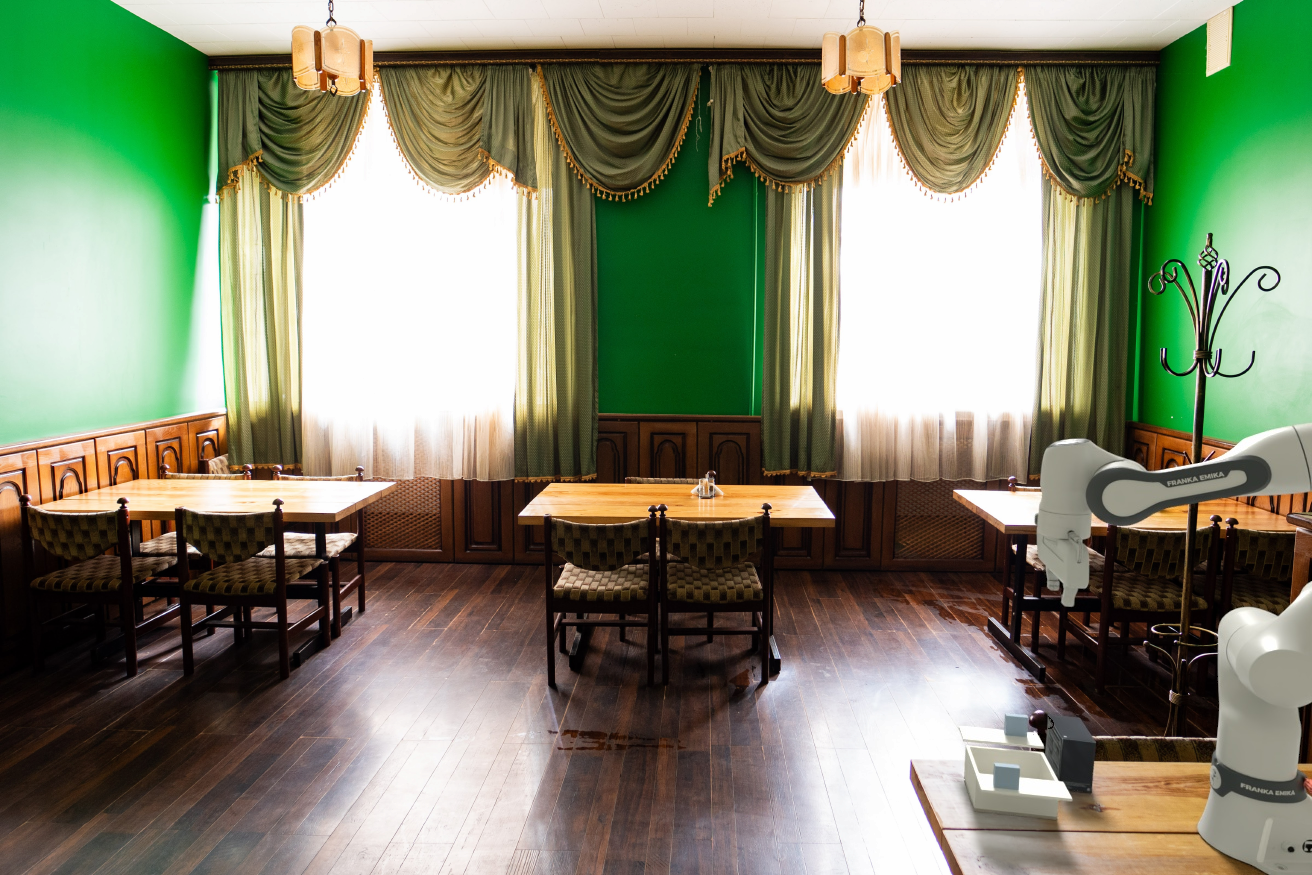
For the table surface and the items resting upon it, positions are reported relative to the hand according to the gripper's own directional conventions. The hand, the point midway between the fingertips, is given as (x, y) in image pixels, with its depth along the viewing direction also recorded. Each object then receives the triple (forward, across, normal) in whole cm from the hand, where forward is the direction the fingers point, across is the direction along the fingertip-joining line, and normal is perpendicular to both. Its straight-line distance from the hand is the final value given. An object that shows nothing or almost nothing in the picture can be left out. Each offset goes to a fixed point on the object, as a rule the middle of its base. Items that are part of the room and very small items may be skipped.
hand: (1059, 597), depth 153 cm
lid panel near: (+29, -17, +9) cm, 35 cm away
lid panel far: (+30, +1, +9) cm, 31 cm away
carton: (+37, -8, +9) cm, 39 cm away
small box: (+37, +2, -4) cm, 37 cm away
